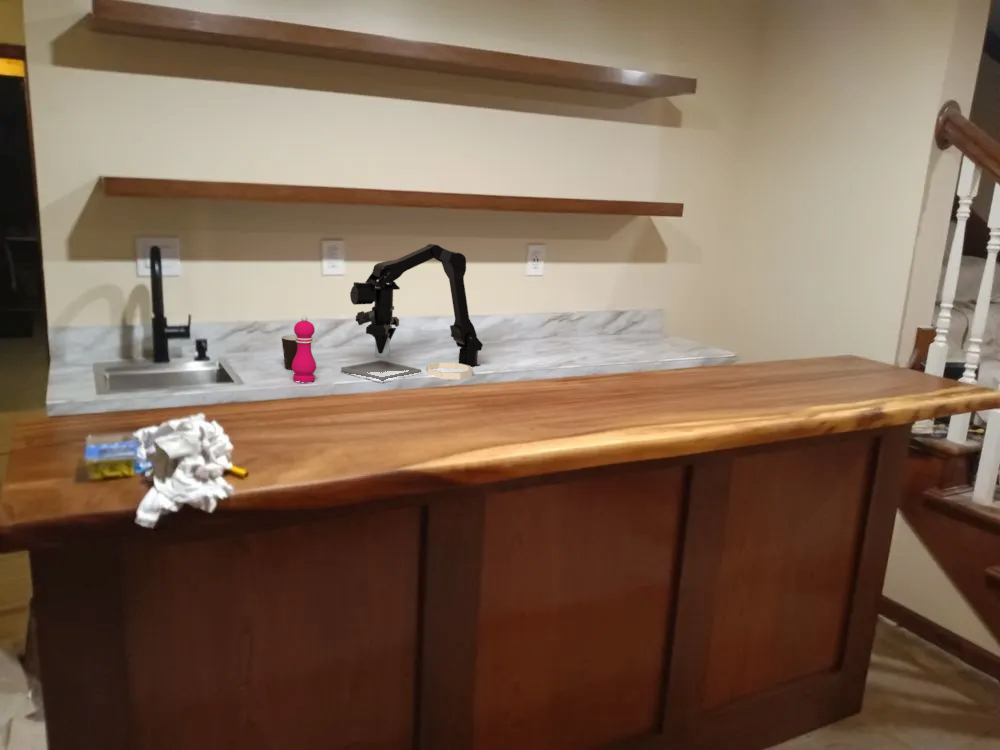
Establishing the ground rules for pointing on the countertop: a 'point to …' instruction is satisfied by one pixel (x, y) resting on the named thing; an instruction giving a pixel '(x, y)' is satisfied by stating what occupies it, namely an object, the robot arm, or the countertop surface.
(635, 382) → the countertop surface
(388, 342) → the peg
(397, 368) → the tray
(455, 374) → the bowl
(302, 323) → the pepper mill
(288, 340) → the coffee mug
